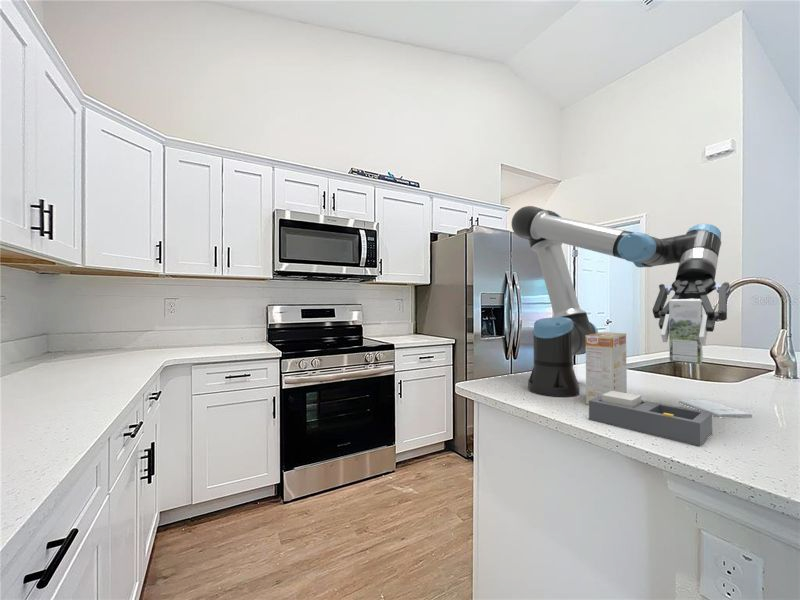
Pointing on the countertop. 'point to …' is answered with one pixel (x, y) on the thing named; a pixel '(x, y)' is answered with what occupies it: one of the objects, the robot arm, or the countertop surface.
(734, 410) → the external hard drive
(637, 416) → the gray desk organizer tray
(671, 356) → the syrup box
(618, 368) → the coffeecake box
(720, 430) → the countertop surface
